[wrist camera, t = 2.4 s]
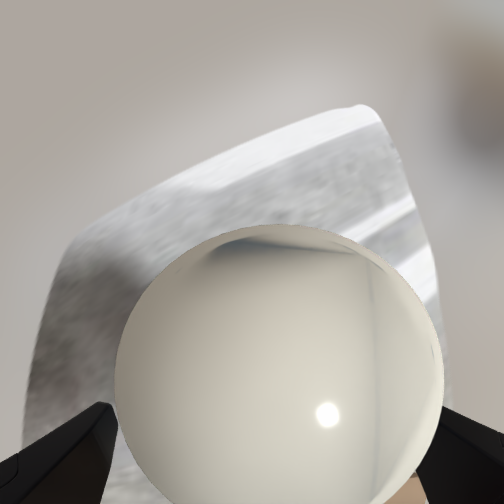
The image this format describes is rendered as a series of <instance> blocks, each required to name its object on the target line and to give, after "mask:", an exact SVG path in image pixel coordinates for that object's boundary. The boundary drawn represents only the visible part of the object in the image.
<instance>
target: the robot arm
mask: <svg viewBox="0 0 504 504" xmlns="http://www.w3.org/2000/svg"><path fill="white" fill-rule="evenodd" d="M117 431H118V421H117V418H116V416H115V413H114V410H113V407H112V405H111V404H109V403H105V402H97V403H95V404H93V405H92V406H90V407H89V408H87V409H86V410H84V411H83V412H81V413H80V414H78V415H77V416H75V417H74V418H72V419H71V420H69V421H67V422H66V423H64V424H63V425H61V426H60V427H58V428H57V429H55V430H53V431H52V432H50V433H49V434H47V435H45V436H44V437H42V438H41V439H39V440H37V441H36V442H34V443H33V444H31V445H29V446H28V447H26V448H24V449H23V450H21V451H20V452H19V453H16V454H14V455H13V456H11V457H9V458H8V459H6V460H4V461H2V462H1V463H0V504H100V502H101V499H102V495H103V492H104V488H105V485H106V482H107V478H108V475H109V472H110V468H111V463H112V458H113V452H114V447H115V441H116V436H117ZM416 473H417V475H418V477H419V480H420V482H421V485H422V487H423V490H424V492H425V495H426V497H427V500H428V502H429V504H504V434H503V433H501V432H497V431H496V430H494V429H491V428H489V427H487V426H485V425H482V424H480V423H478V422H476V421H474V420H471V419H469V418H467V417H465V416H463V415H461V414H459V413H456V412H454V411H452V410H450V409H448V408H446V407H444V406H442V409H441V413H440V417H439V421H438V425H437V428H436V431H435V434H434V436H433V439H432V441H431V444H430V446H429V448H428V450H427V452H426V454H425V455H424V457H423V459H422V461H421V462H420V464H419V466H418V467H417V468H416Z"/></svg>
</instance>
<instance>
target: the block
mask: <svg viewBox="0 0 504 504" xmlns="http://www.w3.org/2000/svg"><path fill="white" fill-rule="evenodd" d="M425 500H426V495H425V492H424V490H423V487H422V485H421V482H420V480H419V477H418V475H417V473H413V474H412V475H411V476H410V478H409V479H408V480H407V482H406V483H405V484H404V485H403V486H402V487H401V488H400V489H399V490H398V491H397V492H396V493H395V494H394V495H393V496H392V497H391V498H389V499H388V500H387V501H386V502H384V503H383V504H425Z"/></svg>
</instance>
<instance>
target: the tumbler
mask: <svg viewBox="0 0 504 504" xmlns="http://www.w3.org/2000/svg"><path fill="white" fill-rule="evenodd" d="M114 393H115V402H116V408H117V414H118V420H119V423H120V426H121V429H122V432H123V435H124V438H125V441H126V443H127V445H128V447H129V449H130V451H131V453H132V455H133V457H134V459H135V460H136V462H137V464H138V465H139V467H140V468H141V469H142V471H143V472H144V474H145V475H146V476H147V478H148V479H149V480H150V482H151V483H152V484H153V485H154V486H155V487H156V488H157V489H158V490H159V491H160V492H161V493H162V494H163V495H164V496H165V497H166V498H167V499H168V500H169V501H171V502H172V503H173V504H383V503H384V502H386V501H387V500H388V499H389V498H391V497H392V496H393V495H394V494H395V493H396V492H397V491H398V490H399V489H400V488H401V487H402V486H403V485H404V484H405V483H406V482H407V480H408V479H409V478H410V476H411V475H412V474H413V472H414V471H415V470H416V468H417V467H418V466H419V464H420V462H421V461H422V459H423V457H424V455H425V454H426V452H427V450H428V448H429V446H430V444H431V441H432V439H433V436H434V434H435V431H436V428H437V425H438V421H439V417H440V413H441V409H442V402H443V393H444V367H443V360H442V354H441V348H440V345H439V341H438V337H437V334H436V331H435V328H434V326H433V324H432V321H431V319H430V316H429V314H428V313H427V311H426V309H425V307H424V305H423V304H422V302H421V300H420V299H419V297H418V296H417V294H416V293H415V292H414V290H413V289H412V288H411V286H410V285H409V284H408V283H407V281H406V280H405V279H404V278H403V277H402V276H401V275H400V274H399V273H398V272H397V271H396V270H395V269H394V268H393V267H392V266H390V265H389V264H388V263H387V262H386V261H385V260H383V259H382V258H381V257H379V256H378V255H376V254H375V253H373V252H372V251H370V250H369V249H367V248H366V247H364V246H362V245H360V244H358V243H356V242H354V241H352V240H350V239H348V238H345V237H343V236H340V235H338V234H335V233H332V232H328V231H325V230H321V229H317V228H312V227H306V226H300V225H284V224H274V225H259V226H253V227H247V228H241V229H238V230H234V231H231V232H227V233H224V234H221V235H219V236H216V237H214V238H211V239H209V240H207V241H204V242H202V243H201V244H199V245H197V246H195V247H193V248H192V249H190V250H188V251H187V252H185V253H184V254H182V255H181V256H180V257H178V258H177V259H176V260H174V261H173V262H172V263H170V264H169V265H168V266H167V267H166V268H165V269H164V270H163V271H162V272H161V273H160V274H159V275H158V276H157V277H156V278H155V279H154V280H153V281H152V282H151V284H150V285H149V286H148V287H147V289H146V290H145V291H144V292H143V294H142V295H141V297H140V298H139V300H138V302H137V303H136V305H135V307H134V308H133V310H132V312H131V314H130V316H129V318H128V321H127V323H126V325H125V327H124V330H123V333H122V336H121V340H120V343H119V347H118V350H117V356H116V363H115V371H114Z"/></svg>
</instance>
